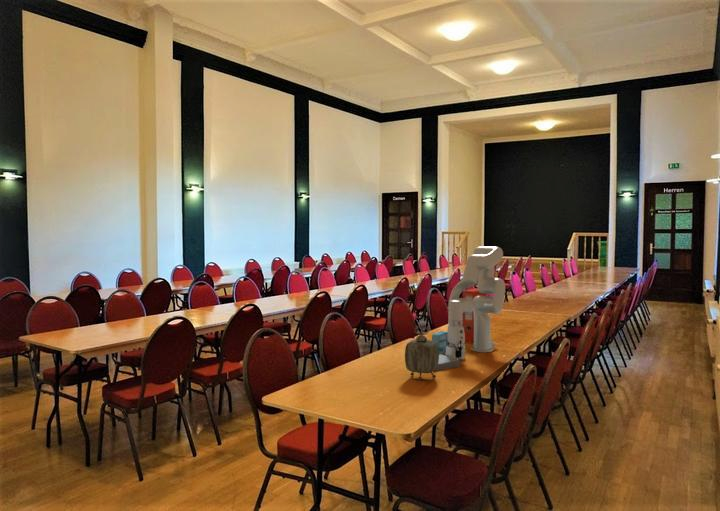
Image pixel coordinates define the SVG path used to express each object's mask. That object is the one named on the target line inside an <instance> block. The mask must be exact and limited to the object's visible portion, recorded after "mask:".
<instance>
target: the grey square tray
mask: <svg viewBox="0 0 720 511" xmlns="http://www.w3.org/2000/svg"><path fill="white" fill-rule="evenodd" d="M460 367H461V359H460V360H457V359H454V358H451V357H448V356H446V354H444V355H442V354H440V355H439V361H438V366H437V368H436V369H435V370H434V371H436V370H437V371H441V370H447V369H448V368H449V369H454V368H460Z"/></svg>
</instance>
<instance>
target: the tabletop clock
mask: <svg viewBox="0 0 720 511" xmlns="http://www.w3.org/2000/svg"><path fill="white" fill-rule="evenodd" d="M417 328H424V329H426V331H427V332H425V333H423V331H420V332H417V331H416V329H417ZM413 330H414V333H415V334H417V335H418V336H416V338H415V339H412V340H409V341H408V342H407V343H406V345H405V349H404V363H405V368H406V370H408V371H409V372H410V376H412V377H413V376H414V375H415V373H418V374H419V376H418V380H420V381H422V380H423V377H422V374H431V377H432V378H433V379H435V378H436V374H434V373H433V372H434V371H435V369H436V368H437V366H438V361H439V350H438V345H437V342H435V341H432V339H427V338H428V337H426V336H425V335H427V334H429V328H428V327H426V326H424V325H417V326H416V327H414V329H413Z"/></svg>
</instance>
